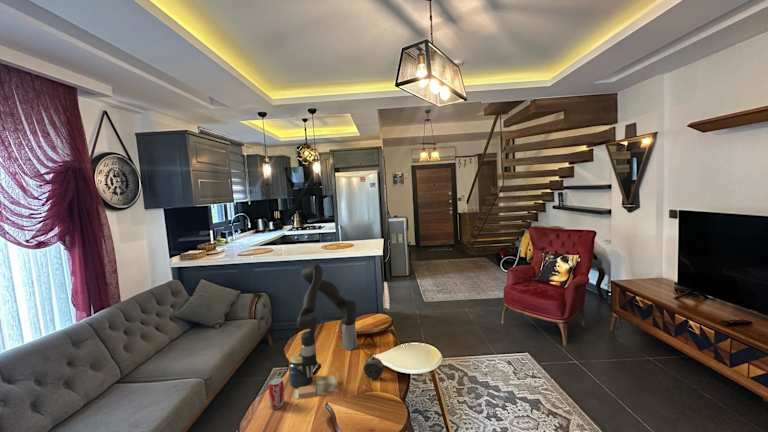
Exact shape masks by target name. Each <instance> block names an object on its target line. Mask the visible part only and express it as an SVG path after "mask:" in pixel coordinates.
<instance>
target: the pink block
mask: <svg viewBox="0 0 768 432" xmlns="http://www.w3.org/2000/svg"><path fill="white" fill-rule="evenodd" d="M298 389H299V393H298V395H299V398H300V397H305V398H307V397H306V396H310V397H313V396H312V395H314V396H317V395H316V384H309V385H308V386H304V387H299V388H298ZM300 399H301V398H300Z"/></svg>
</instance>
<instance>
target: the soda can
mask: <svg viewBox="0 0 768 432" xmlns="http://www.w3.org/2000/svg"><path fill="white" fill-rule="evenodd" d="M284 389H285V387H284V380H283V378H282V377H281V376H275V377H273V378H271V379H270V380H269V383H268V401H269V407H270V408H271V409H274V410H278V409H280V408H282V407H283V405H284V404H285V390H284Z"/></svg>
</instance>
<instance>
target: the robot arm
mask: <svg viewBox="0 0 768 432" xmlns="http://www.w3.org/2000/svg"><path fill="white" fill-rule="evenodd" d="M323 274H324V271H323V267H322V266H321V265H320V264H319V263H315V264H312V265H310V266H306V267H304V268H303V269H302V271H301V276H302V278H303V280H304V281H305V283H307V284H309V285H310V286H309V288H308V289H307V291H306V293H305V294H304V297H303V302H302V308H301V311H300V313H299V315H298V317H297V318H296V319H297V320H296V327H297V328H298V329H299V330H307V331H305V332H303V333H301V335H300V339H301V347H300V348H301V350H300V351H301V353H302V363H301V366H300V367H298V372H299V373H300V374H302V375H303V376H304V377H307V380H308V383H309V385H311V384H313V382H314V376H316V375H317V373H318V372H319V371H320V369H321V368H322V362H321V363H320V362H318V360H317V347H316V338H315V337H316V329H317V325H318V317H317V316H316V315H315V314H313V313H314V312H315V311H316V308H317V307H316V306H317V298H318V293H319V292H320V293H321V294H322V295H323V296H324V297H325V298H326V299H327V300H328V301H330V302H331V303H332V304H334V306H335V308H337V309H338V311H339V312H341V313H343V314H346V316H345V317H343V318H342V319H341V335H342V337H341V338H342V339H341V340H342V349H343V350H344V351H352V350H355V349H357V348H358V343H357V342H358V341H357V331H356V319H357V302H356V301H354V300H351V299H347V298H345V297H344V296H342V295H341V293H340V289H339V288H338V287H337V286H336V284H334V283H333V282H331V281H329V280H325V279H323ZM302 368H303V369H304V370H305V371H307V373H305V372H304V371H303V370H302ZM309 371H310V374H309ZM310 383H311V384H310Z"/></svg>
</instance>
